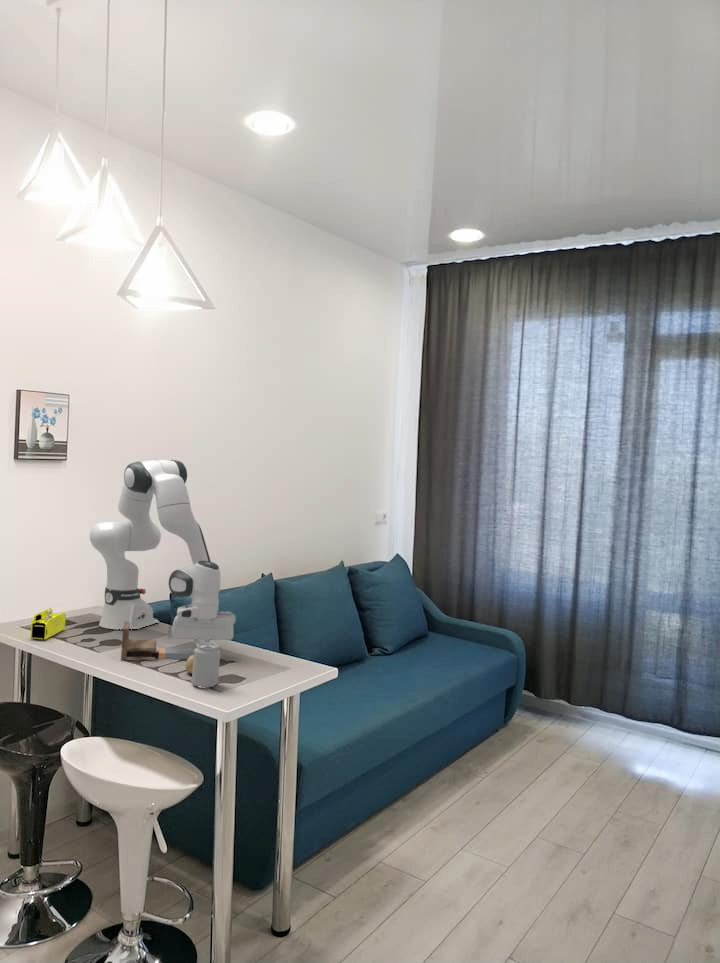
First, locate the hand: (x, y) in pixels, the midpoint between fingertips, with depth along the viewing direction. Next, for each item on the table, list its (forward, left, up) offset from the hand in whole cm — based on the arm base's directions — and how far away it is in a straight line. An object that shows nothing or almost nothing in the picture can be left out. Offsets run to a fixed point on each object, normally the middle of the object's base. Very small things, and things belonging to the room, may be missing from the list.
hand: (201, 652), depth 247 cm
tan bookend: (+14, -14, -2) cm, 20 cm away
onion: (+15, +12, -2) cm, 19 cm away
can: (+22, +21, -2) cm, 30 cm away
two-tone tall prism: (+5, -5, -2) cm, 8 cm away
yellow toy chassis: (+19, -53, -2) cm, 56 cm away
